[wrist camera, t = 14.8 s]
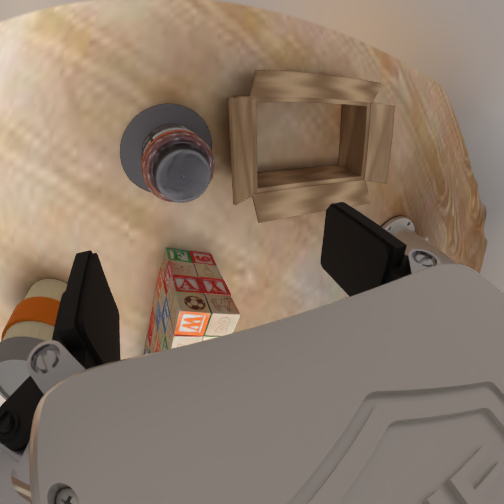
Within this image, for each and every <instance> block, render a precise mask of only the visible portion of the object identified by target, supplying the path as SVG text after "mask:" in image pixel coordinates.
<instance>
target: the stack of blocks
mask: <svg viewBox="0 0 504 504" xmlns="http://www.w3.org/2000/svg"><path fill="white" fill-rule="evenodd" d="M239 317H240V313H239V311H238V309H237V307H236V305H235V303H234V301H233V299H232V298H231V293H230V291H229V289H228V287H227V285H226V283H225V281H224V280H223V278H222V276H221V274H220V272H219V270H218V268H217V266H216V263H215V261H214V259H213V257H212V255H211V254H208V253H202V252H195V251H185V250H179V249H172V248H166V250H165V254H164V258H163V262H162V266H161V268H160V272H159V276H158V281H157V285H156V290H155V294H154V299H153V308H152V313H151V318H150V319H151V321H150V326H149V331H148V334H147V339H146V344H145V352H144V355H145V354H149V353H154V352H158V351H163V350H167V349H172V348H176V347H180V346H185V345H189V344H193V343H197V342H201V341H205V340H209V339H213V338H217V337H220V336H224V335H228V334H232V333H233V331H234V329H235V327H236V324H237V322H238V320H239Z"/></svg>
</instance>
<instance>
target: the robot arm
mask: <svg viewBox="0 0 504 504" xmlns="http://www.w3.org/2000/svg"><path fill="white" fill-rule="evenodd" d="M428 241H429V239H428V237H427V236H424V237H421V236H419V235H418V234H416V233H415V227H414V224H413V223H412V221H411V220H409V219H408V218H406V217H404V216H398V217H395V218H393V219H391V220H389V221H388V222H386V223H385V224H384V225H383V226H382V227H381V226H379V225H378V224H376V223H375V222H373V221H372V220H370V219H369V218H367V217H366V216H364V215H363V214H361V213H360V212H358V211H357V210H355V209H354V208H352V207H351V206H349V205H348V204H346V203H345V202H339V203H332V204H330V206H329V207H328V208H327V210H326V217H325V227H324V236H323V245H322V254H321V265H322V267H323V269H324V270H325V271H326V272H327V273H328V274H329V275H330V276H331V277H332V278H333V279H334V280H335V281H336V282H337V283H338V284H339V286H340V287H341V288H342V289H343V290H344V291H345V292H346V293H347V294H348V295H349V296H350V297H348V298H345V299H342V300H339V301H336V302H334V303H331V304H328V305H325V306H322V307H319V308H316V309H313V310H310V311H306V312H303V313H300V314H297V315H294V316H291V317H287V318H284V319H281V320H277V321H274V322H271V323H267V324H264V325H260V326H257V327H253V328H250V329H246V330H243V331H239V332H235V333H232V334H228V335H224V336H220V337H217V338H213V339H209V340H205V341H201V342H197V343H193V344H189V345H185V346H180V347H176V348H172V349H167V350H163V351H158V352H154V353H149V354H145V355H141V356H136V357H132V358H128V359H123V360H120V333H119V312H118V308H117V306H116V303H115V301H114V298H113V296H112V293H111V291H110V288H109V286H108V283H107V280H106V277H105V275H104V272H103V269H102V266H101V263H100V261H99V258H98V255H97V253H94V254H93V253H92V252H91V251H85V252H81V253H77V254H76V256H75V260H74V263H73V266H72V269H71V273H70V276H69V280H68V284H67V287H66V291H65V292H63V294H62V297H61V301H60V305H59V309H58V313H57V317H56V322H55V326H54V331H53V336H52V340H47V341H44V342H42V343H40V344H38V345H37V346H36V347H35V348H34V349H33V350H32V351H31V352H30V354H29V356H28V359H27V369H28V372H29V374H30V376H29V377H28V378H27V379H26V380H25V381H24V382H23V383H22V384H21V385H20V386H19V387H18V388H17V390H16V391H15V392H14V393H13V394H12V395H11V396H10V397H9V398H8V399H7V400H6V401H5V402H4V403H3V404H2V406H1V407H0V504H504V293H503V292H501V291H500V290H499V289H498V288H497V287H495V286H494V285H493V284H492V283H491V282H490V281H488V280H487V279H486V278H484V277H483V276H482V275H481V274H479V273H478V272H476V271H475V270H473V269H472V268H470V267H468V266H464V265H459V264H457V263H456V262H455V261H454V260H452V259H451V258H450V257H448V256H447V255H446V254H444V253H443V252H441V251H440V250H439V249H437V248H436V247H435V246H433V245H432V244H430V243H429V242H428Z"/></svg>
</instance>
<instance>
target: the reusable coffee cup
mask: <svg viewBox="0 0 504 504" xmlns="http://www.w3.org/2000/svg"><path fill="white" fill-rule="evenodd" d="M66 287H67V283H65V282H63V281H60V280H57V279H42V280H39V281H37V282H36V283H34V284H33V285H32V287H31V288H30V290H29V292H28V293H27V295H26V297H25V298H24V300H23V301H21V302H20V303H19V304H18V305H17V306H16V308H15V310H14V312H13V313H12V315H11V317H10V319H9V321H8V323H7V325H6V327H5V329H4V331H3V333H2V341H1V342H0V395H1V396H2V397H3V398H4V399H5V400H7V399H8V398H9V397H10V396H11V395H12V394H13V393H14V392H15V391H16V390H17V388H18V387H19V386H20V385H21V384H22V383H23V382H24V381H25V380H26V379H27V378H28V377H29V376H30V374H29V372H28V369H27V359H28V356H29V354H30V352H31V351H32V350H33V349H34V348H35V347H36V346H37V345H38V344H40V343H42V342H44V341H47V340H52V336H53V331H54V326H55V322H56V317H57V313H58V309H59V305H60V301H61V297H62V294H63V292H65V291H66Z"/></svg>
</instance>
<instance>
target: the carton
mask: <svg viewBox="0 0 504 504" xmlns="http://www.w3.org/2000/svg"><path fill="white" fill-rule="evenodd" d="M381 86H382V84H381V83H377V82H372V81H366V80H361V79H354V78H348V77H341V76H333V75H325V74H315V73H304V72H290V71H263V70H255V74H254V78H253V82H252V86H251V91H250V95H243V96H234V98H228V102H229V126H230V147H231V168H232V187H233V204H234V205H237V204H238V203H240V202H242V201H244V200H245V199H247V198H249V197H251V196H252V198H253V202H254V206H255V211H256V215H257V219H258V223H260V222H266V221H271V220H276V219H282V218H287V217H293V216H298V215H304V214H309V213H315V212H321V211H326V210H327V208H328V207H329V206H330V204H332V203H339V202H345V203H346V204H348V205H349V206H356V205H362V204H368V203H371V201H370V197H369V193H368V190H367V186H366V182H365V181H370V182H377V183H384V184H386V183H387V176H388V169H389V162H390V154H391V145H392V135H393V124H394V110H395V106H391V105H386V104H380V103H373V102H372V101H373V100H374V98H375V96H376V95H377V93H378V91H379V89H380V88H381ZM256 102H315V103H334V104H342V110H341V132H340V149H339V162H338V165H335V166H322V167H311V168H300V169H290V170H281V171H272V172H264V173H257V130H256Z"/></svg>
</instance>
